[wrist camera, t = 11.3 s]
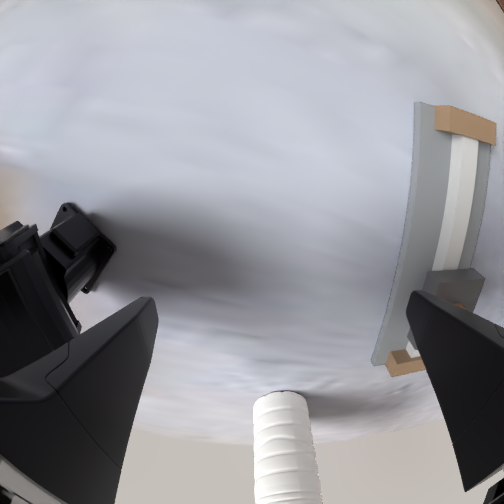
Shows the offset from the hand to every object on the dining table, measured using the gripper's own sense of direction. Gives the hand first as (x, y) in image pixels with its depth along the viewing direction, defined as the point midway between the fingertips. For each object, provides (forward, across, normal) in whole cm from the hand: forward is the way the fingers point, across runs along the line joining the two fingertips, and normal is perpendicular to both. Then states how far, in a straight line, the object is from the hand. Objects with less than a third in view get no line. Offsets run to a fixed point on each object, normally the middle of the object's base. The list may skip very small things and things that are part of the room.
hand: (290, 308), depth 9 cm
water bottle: (+13, -1, +23) cm, 27 cm away
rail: (+13, -16, +4) cm, 21 cm away
